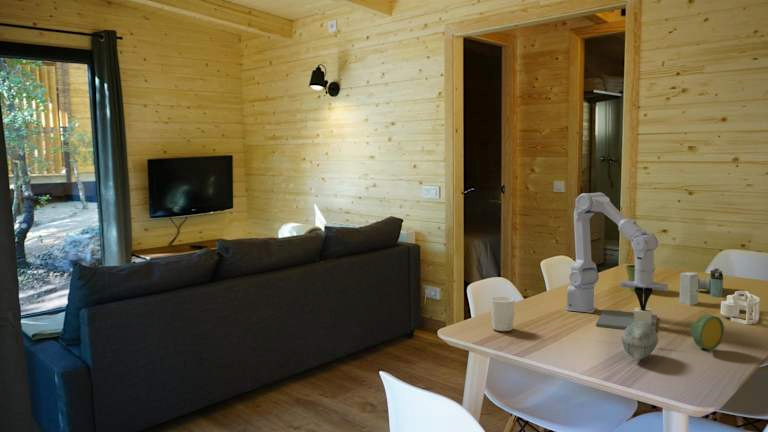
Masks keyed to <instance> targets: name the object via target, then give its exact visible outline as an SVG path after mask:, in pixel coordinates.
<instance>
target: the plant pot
mask: <svg viewBox="0 0 768 432" xmlns="http://www.w3.org/2000/svg"><path fill="white" fill-rule="evenodd" d="M624 268H625V269H626V273H627V276H628V281H635V264H626V265H625V266H624ZM656 268H657V267H656V266H654V270H653V275H654V273H655V270H656ZM629 290H630V291H631V293H635V288H629ZM643 294H644V289H643Z"/></svg>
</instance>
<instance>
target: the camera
mask: <svg viewBox="0 0 768 432" xmlns="http://www.w3.org/2000/svg"><path fill="white" fill-rule="evenodd" d="M709 273H710V276H709V277H708V278H705V279H704V278H698V290H705V291H707V292H708V293H709V295H710V297H714V298H715V297H716V298H723V289H724V288H723V287H724V275H723V271H722V270H720V268H717V267H714V268H713V269H710V272H709Z"/></svg>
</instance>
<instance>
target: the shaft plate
mask: <svg viewBox="0 0 768 432" xmlns="http://www.w3.org/2000/svg"><path fill="white" fill-rule="evenodd" d="M657 321H658V314H654V313H653V314H652V322H651V325H652V326H653V328H654V329H655V330H656V328H657ZM633 322H634V311H622V310H621V311H620V310H611V309H602V311H601V314H600V315H599V317H598V319H597V321H596V323H595V324H596V325H595V327H599V328H607V329H608V328H609V329H616V330H618V329H619V330H623V331H624V330H625V329H626V328H627V327H628V326H629V325H630V324H632V323H633Z"/></svg>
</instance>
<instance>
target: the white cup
mask: <svg viewBox="0 0 768 432" xmlns="http://www.w3.org/2000/svg"><path fill="white" fill-rule="evenodd" d="M515 302H516V300H515V298H514V297H513V298H512V297H510V296H509V297H508V296H494V297H492V298H490V309H491V310H490V311H491V313H490V314H491V322H492V329H493V330H495V331H499V332H509V331H513V328H514V327H513V326H514V318H515V316H514V315H515Z"/></svg>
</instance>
